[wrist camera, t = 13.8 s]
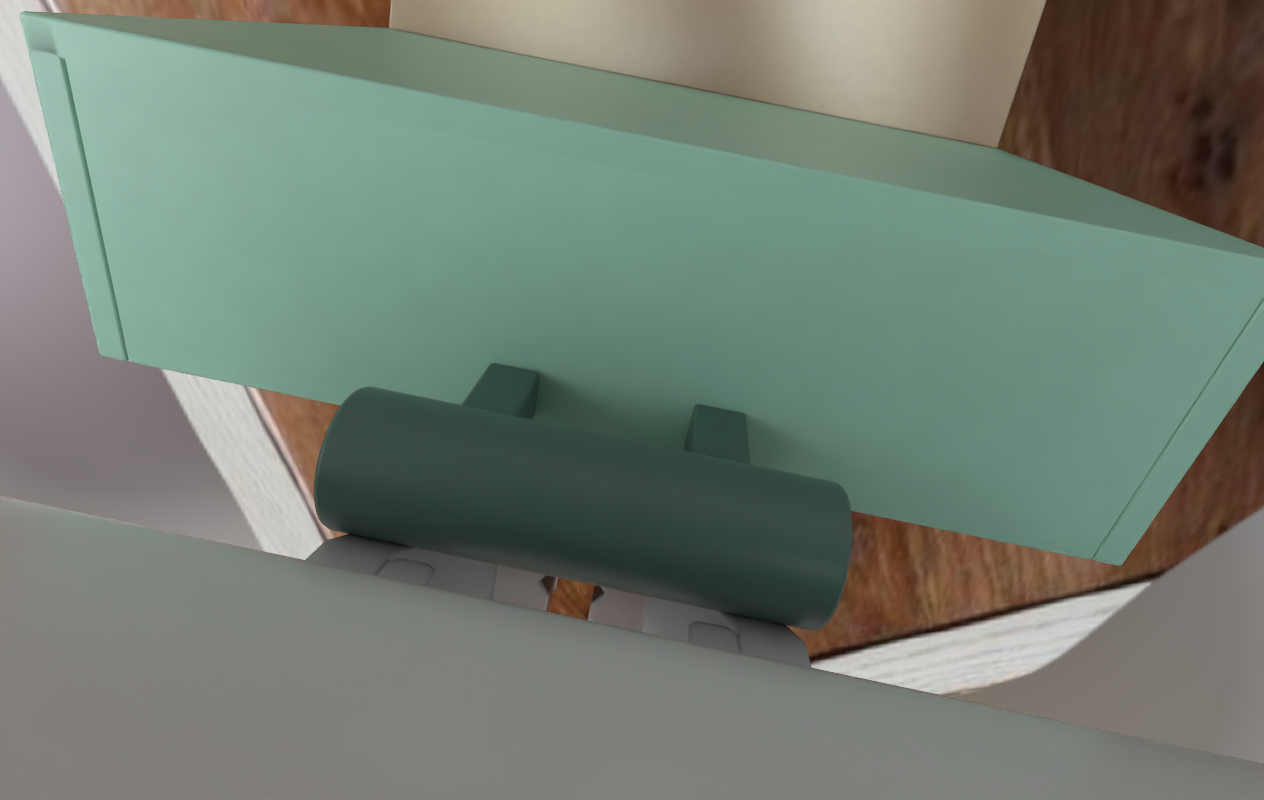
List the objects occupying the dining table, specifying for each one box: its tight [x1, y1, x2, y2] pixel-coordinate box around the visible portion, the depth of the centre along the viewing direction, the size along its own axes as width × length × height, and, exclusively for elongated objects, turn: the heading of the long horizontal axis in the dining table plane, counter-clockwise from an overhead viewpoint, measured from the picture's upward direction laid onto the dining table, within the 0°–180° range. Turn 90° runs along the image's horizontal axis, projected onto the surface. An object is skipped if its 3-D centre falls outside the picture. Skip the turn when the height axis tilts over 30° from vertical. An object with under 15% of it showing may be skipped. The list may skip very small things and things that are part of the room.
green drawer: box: [20, 11, 1264, 630], centre depth 13 cm, size 17×14×5 cm
